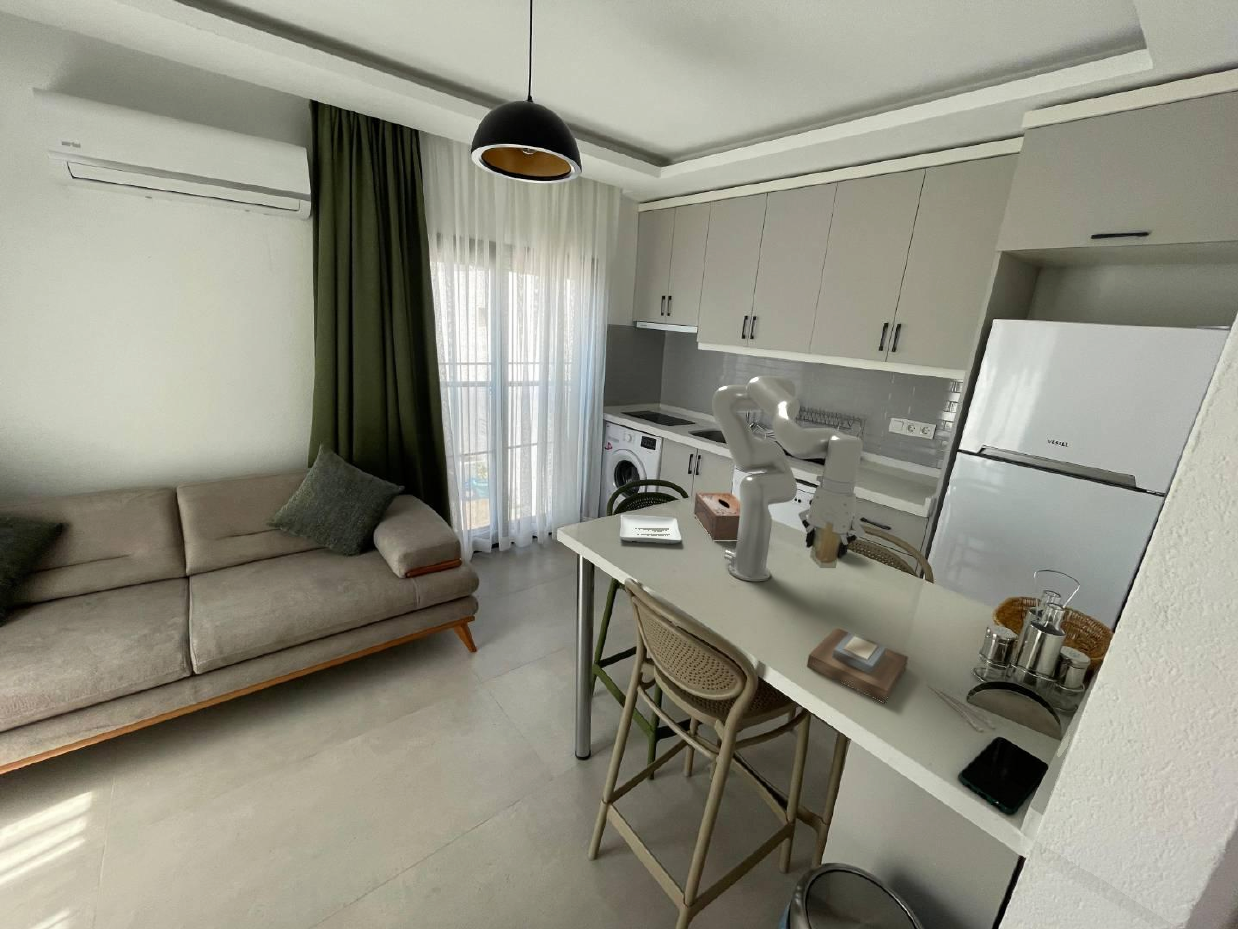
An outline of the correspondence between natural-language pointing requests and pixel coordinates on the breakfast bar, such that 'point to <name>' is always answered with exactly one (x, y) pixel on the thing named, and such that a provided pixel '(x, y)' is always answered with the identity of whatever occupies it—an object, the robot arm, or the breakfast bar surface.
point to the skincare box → (825, 547)
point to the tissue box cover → (718, 514)
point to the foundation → (858, 663)
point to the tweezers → (964, 708)
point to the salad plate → (640, 521)
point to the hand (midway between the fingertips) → (825, 551)
